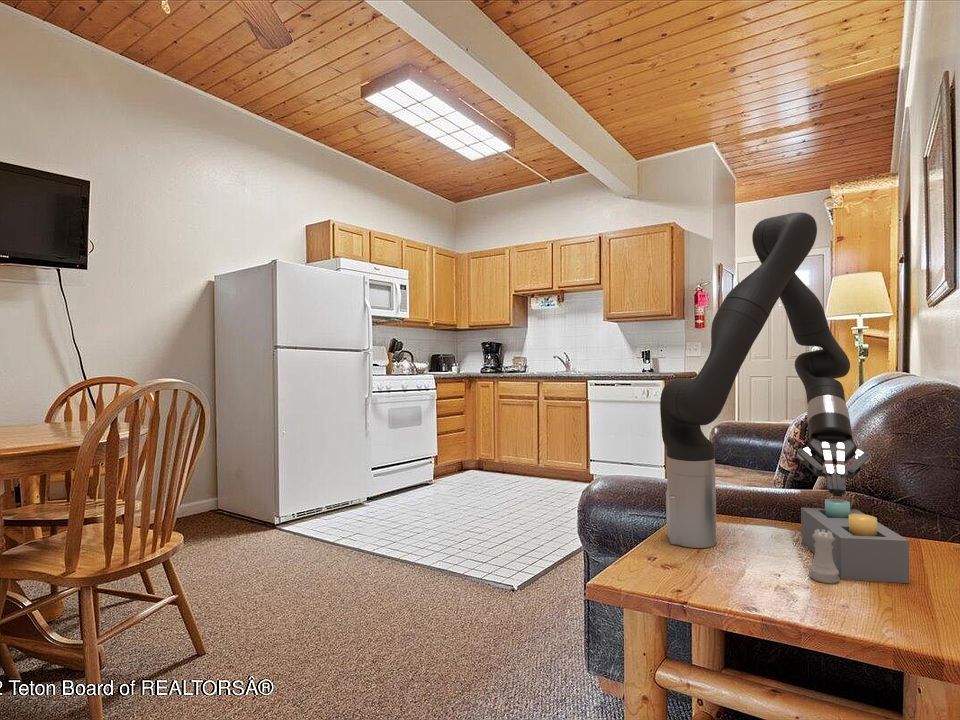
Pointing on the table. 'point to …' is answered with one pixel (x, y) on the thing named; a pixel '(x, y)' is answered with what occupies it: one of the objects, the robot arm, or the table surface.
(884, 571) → the console
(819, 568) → the rook chess piece
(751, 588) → the table surface
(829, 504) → the teal button
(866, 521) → the amber button
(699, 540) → the robot arm
